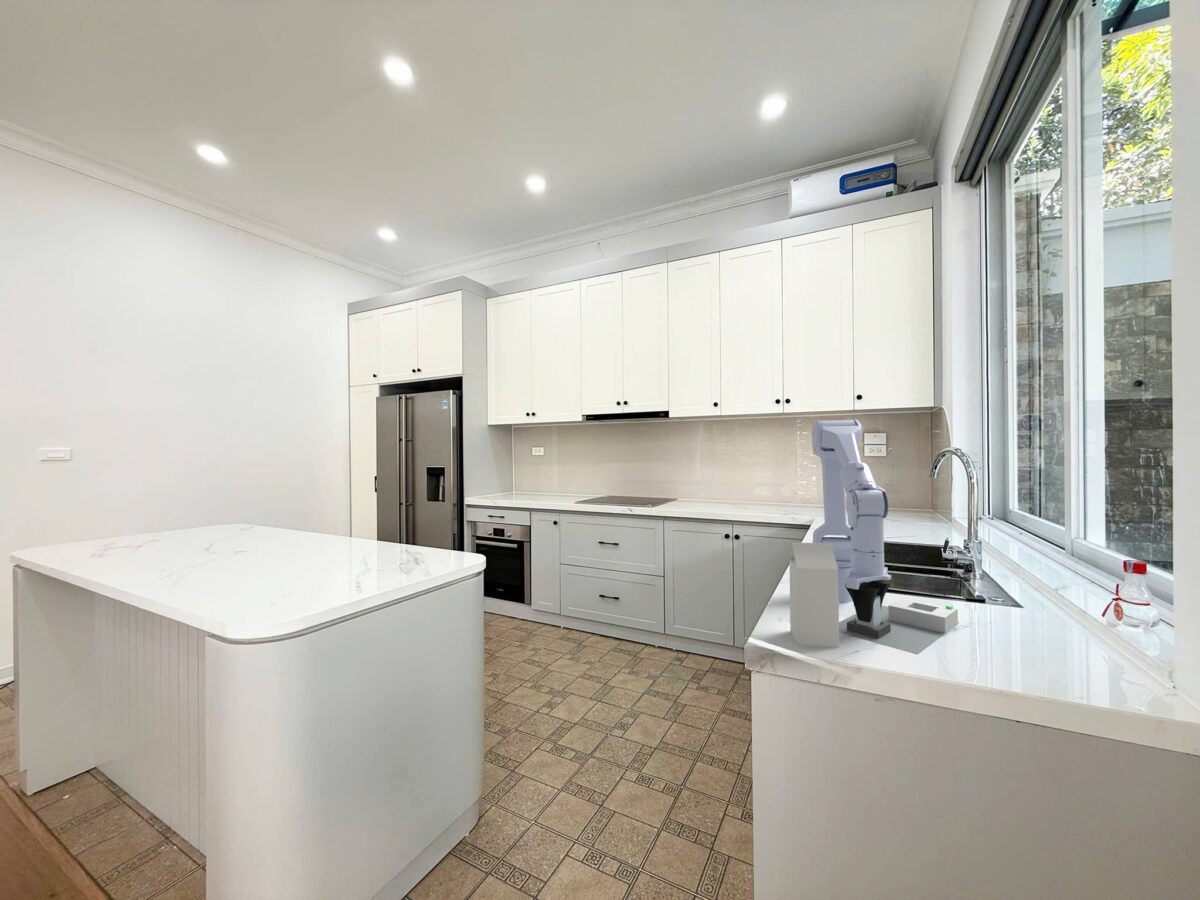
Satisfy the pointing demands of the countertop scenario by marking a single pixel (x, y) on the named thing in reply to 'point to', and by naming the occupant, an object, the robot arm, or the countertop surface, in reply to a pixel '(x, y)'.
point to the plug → (873, 615)
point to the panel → (905, 625)
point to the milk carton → (814, 595)
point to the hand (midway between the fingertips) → (868, 618)
